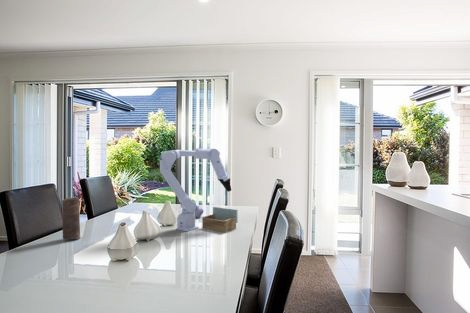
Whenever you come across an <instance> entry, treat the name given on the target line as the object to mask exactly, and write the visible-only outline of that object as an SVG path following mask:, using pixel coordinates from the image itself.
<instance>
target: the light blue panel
mask: <svg viewBox="0 0 470 313" xmlns="http://www.w3.org/2000/svg"><path fill="white" fill-rule="evenodd" d="M212 214H214V219H216V220H222V221H224V220H227V219H231V218H234V217H235V218H236V224H237V223H238V222H239V221H238V209H234V208H227V207H219V206H218V207H217V206H212Z"/></svg>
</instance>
